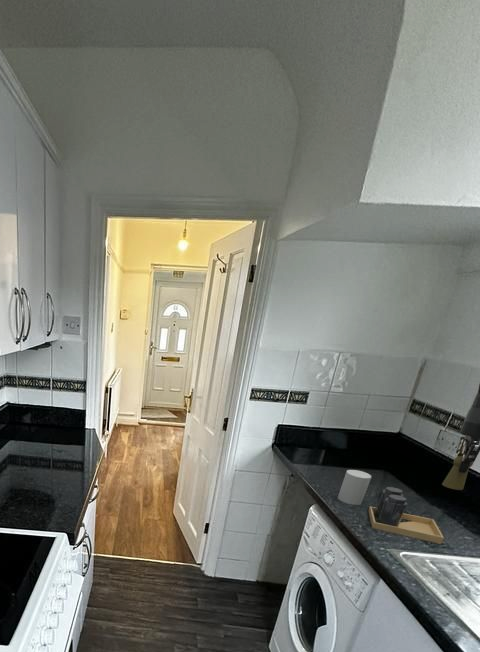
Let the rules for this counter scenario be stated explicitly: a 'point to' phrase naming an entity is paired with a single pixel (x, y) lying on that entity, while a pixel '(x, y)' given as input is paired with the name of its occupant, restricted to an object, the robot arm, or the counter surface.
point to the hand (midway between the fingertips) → (459, 469)
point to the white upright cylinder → (354, 487)
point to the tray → (411, 527)
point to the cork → (456, 476)
